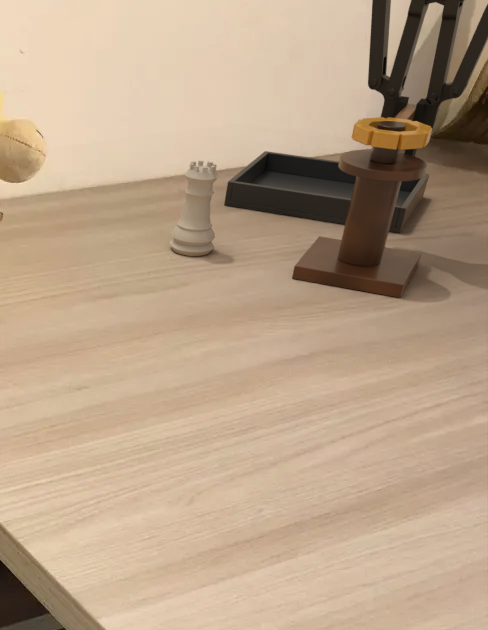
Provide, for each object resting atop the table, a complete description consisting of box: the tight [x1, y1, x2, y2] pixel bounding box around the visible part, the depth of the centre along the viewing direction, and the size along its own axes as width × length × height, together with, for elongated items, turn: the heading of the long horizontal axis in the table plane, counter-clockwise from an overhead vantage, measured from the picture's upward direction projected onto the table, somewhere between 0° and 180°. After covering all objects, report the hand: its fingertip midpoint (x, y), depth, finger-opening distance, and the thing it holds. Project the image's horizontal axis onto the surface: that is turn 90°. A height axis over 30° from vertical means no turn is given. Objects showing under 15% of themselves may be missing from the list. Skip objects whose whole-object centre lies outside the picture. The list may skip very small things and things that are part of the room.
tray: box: [223, 150, 430, 234], centre depth 117 cm, size 19×15×2 cm
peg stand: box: [291, 121, 428, 299], centre depth 95 cm, size 10×10×13 cm
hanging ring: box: [351, 102, 432, 151], centre depth 94 cm, size 14×6×1 cm, turn 153°
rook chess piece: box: [169, 160, 220, 257], centre depth 101 cm, size 4×4×8 cm
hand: (394, 173), depth 102 cm, fingers closed on hanging ring
